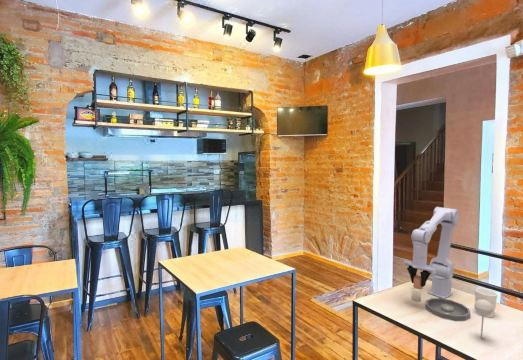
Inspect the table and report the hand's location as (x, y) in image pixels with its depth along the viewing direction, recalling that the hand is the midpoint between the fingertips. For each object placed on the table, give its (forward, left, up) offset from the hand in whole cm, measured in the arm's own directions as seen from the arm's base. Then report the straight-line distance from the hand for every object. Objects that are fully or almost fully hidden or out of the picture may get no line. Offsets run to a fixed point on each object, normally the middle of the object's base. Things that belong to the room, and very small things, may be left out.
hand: (418, 284), depth 146 cm
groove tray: (-7, +10, -10) cm, 16 cm away
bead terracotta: (0, 0, -1) cm, 1 cm away
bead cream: (-6, -4, -10) cm, 13 cm away
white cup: (-19, +20, -11) cm, 30 cm away
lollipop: (+4, +28, -11) cm, 30 cm away
